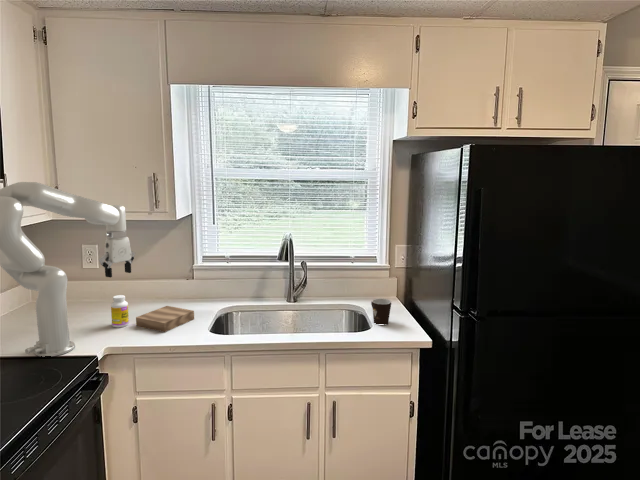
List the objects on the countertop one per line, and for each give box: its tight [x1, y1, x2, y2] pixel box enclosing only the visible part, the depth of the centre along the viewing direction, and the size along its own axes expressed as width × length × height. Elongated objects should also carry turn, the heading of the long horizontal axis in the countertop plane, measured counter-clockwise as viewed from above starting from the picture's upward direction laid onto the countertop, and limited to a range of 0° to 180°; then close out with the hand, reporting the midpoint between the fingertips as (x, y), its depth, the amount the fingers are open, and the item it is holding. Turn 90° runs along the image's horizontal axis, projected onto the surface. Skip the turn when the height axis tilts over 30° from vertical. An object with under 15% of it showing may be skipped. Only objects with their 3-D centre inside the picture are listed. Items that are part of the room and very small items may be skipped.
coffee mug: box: [370, 297, 392, 325], centre depth 191 cm, size 12×9×10 cm
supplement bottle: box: [110, 294, 130, 328], centre depth 183 cm, size 7×7×13 cm
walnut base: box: [135, 305, 195, 333], centre depth 187 cm, size 18×16×4 cm
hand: (118, 274), depth 181 cm, fingers open, 9 cm apart
